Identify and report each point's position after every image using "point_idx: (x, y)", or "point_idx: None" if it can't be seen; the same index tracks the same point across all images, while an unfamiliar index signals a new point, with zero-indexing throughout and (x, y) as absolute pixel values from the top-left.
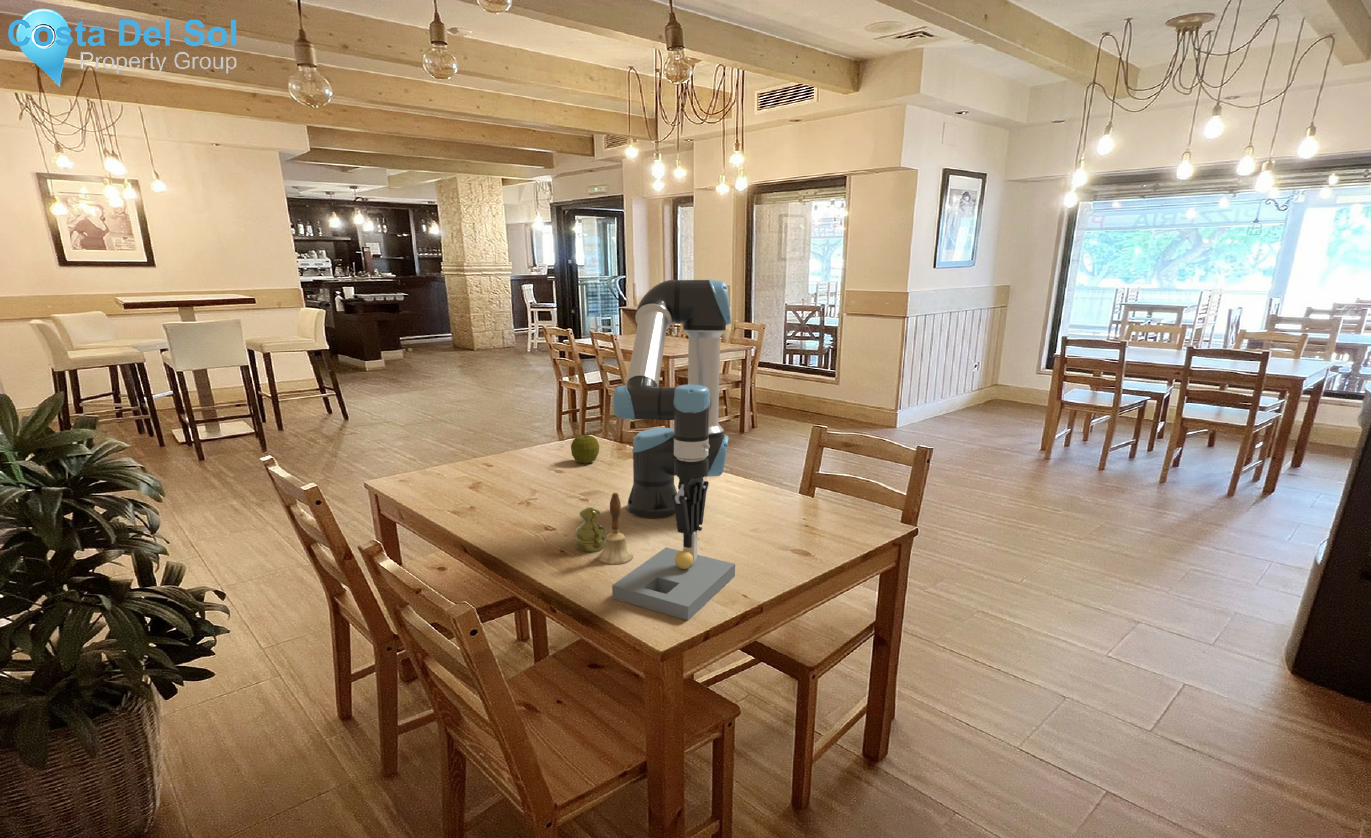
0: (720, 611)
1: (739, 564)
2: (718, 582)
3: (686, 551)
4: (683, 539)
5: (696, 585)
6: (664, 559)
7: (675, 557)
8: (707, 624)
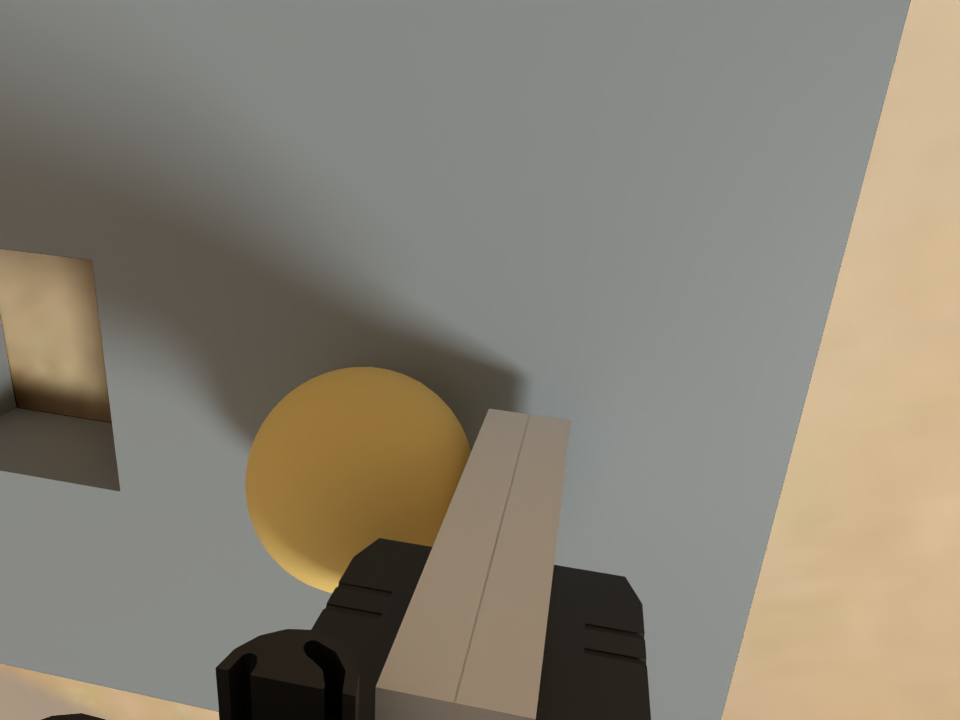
0: (178, 706)
1: (936, 713)
2: None
3: (342, 566)
4: (427, 563)
5: (165, 620)
6: (500, 135)
7: (284, 408)
8: (25, 671)
